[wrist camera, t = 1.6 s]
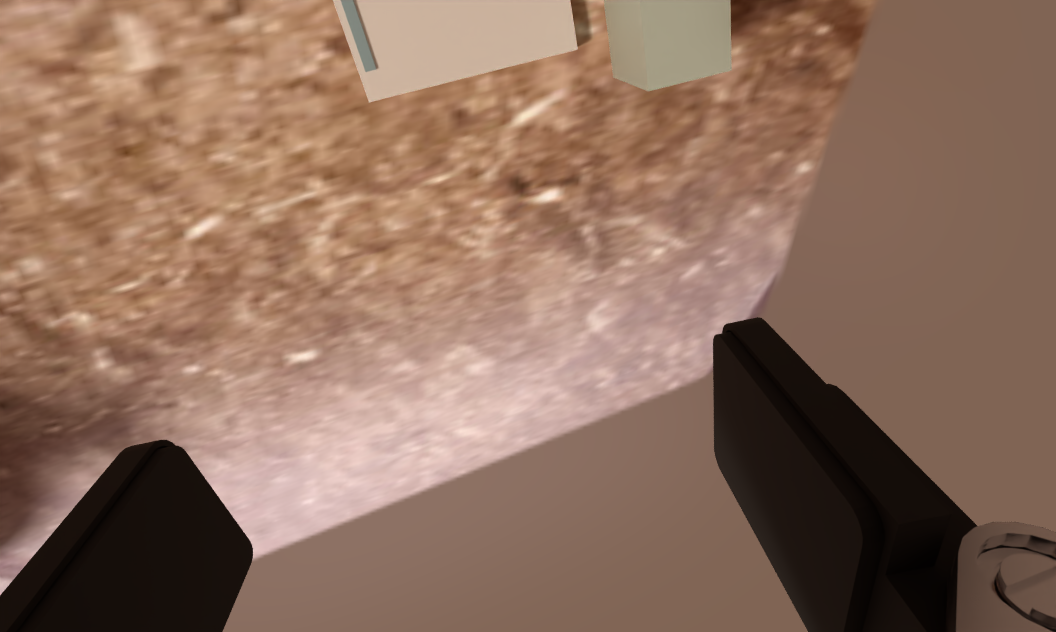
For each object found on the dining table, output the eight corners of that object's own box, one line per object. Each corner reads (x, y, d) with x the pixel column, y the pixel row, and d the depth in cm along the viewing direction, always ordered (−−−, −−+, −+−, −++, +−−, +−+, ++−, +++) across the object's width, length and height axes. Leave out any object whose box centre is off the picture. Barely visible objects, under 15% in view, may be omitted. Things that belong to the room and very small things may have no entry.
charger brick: (603, -1, 28) (639, -7, 22) (674, -19, 28) (730, -30, 22) (613, 77, 30) (648, 92, 24) (679, 61, 30) (731, 71, 24)
